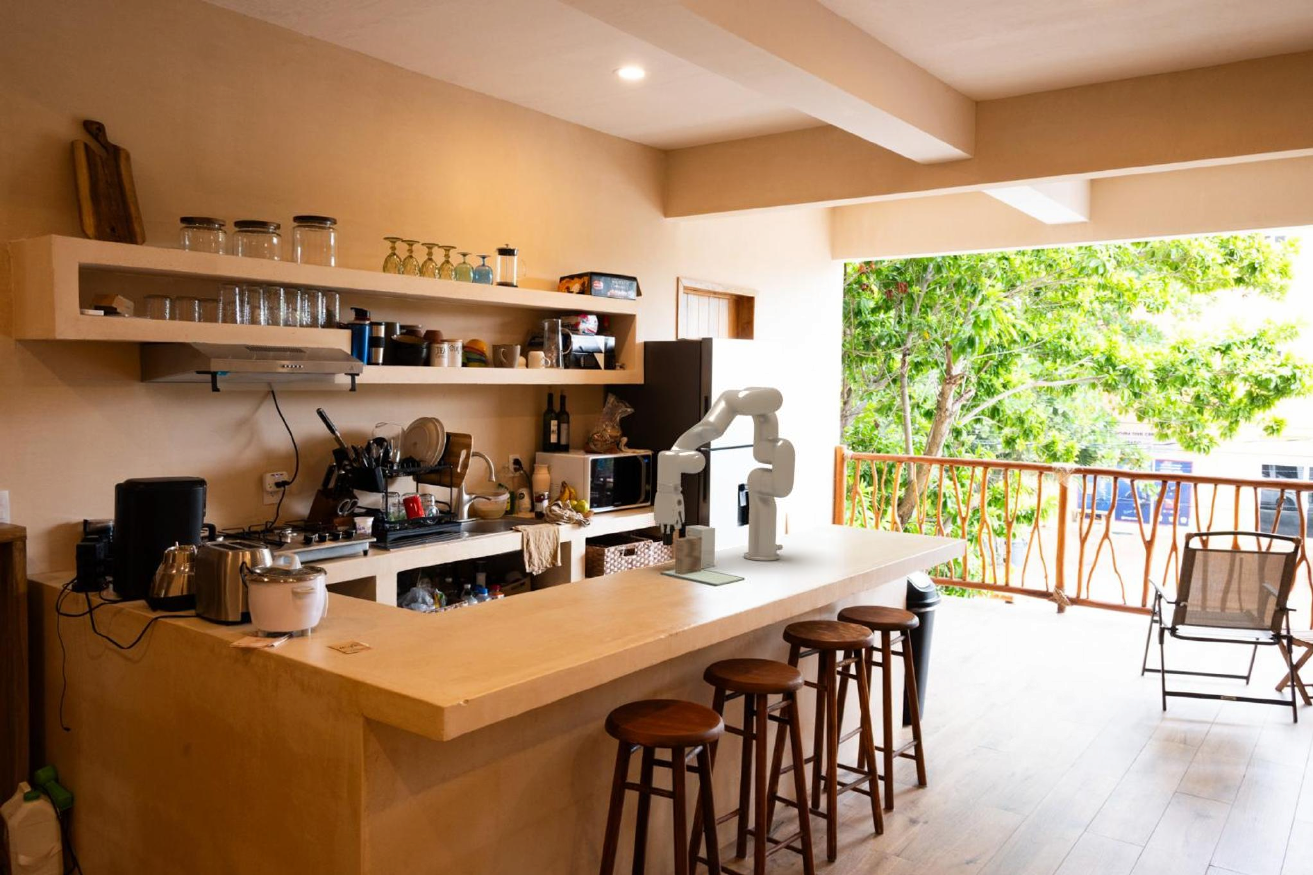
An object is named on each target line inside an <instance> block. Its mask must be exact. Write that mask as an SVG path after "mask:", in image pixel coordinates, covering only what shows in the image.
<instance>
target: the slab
mask: <svg viewBox="0 0 1313 875" xmlns="http://www.w3.org/2000/svg"><path fill="white" fill-rule="evenodd" d="M701 546H702V537H698V536H691V537H686V536H685V537H680V538H675V553H674V554H675V557H674V558H675V559H674V560H675V561H674V562H675V563H674V570H675V573H676V574H681V575H683V574H688V573H693V572H698V571H701V569H702V568H701Z"/></svg>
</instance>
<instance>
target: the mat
mask: <svg viewBox="0 0 1313 875" xmlns="http://www.w3.org/2000/svg"><path fill="white" fill-rule="evenodd" d="M659 573H660V574H659V575H662V576H668V577H671V578H677V579H679V580H685V581H690V582H694V583H699V584H703V585H708V586H712V587H719V586H723V585H727V584H732V583H736V582H741V581H745V577H742V576H738V575H732V574H728V573H723V572H719V571H715V570H714V571H713V570H707V569H705V568H701V571H698V572H693V573H688V574H683V575H681V574H676V573H675V569H671V570H665V571H660V572H659Z"/></svg>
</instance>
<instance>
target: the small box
mask: <svg viewBox="0 0 1313 875" xmlns="http://www.w3.org/2000/svg"><path fill="white" fill-rule="evenodd" d="M691 536H698V537H702V546H701V569H705V568H711V567H712V568H713V567H715V566H716V565H715V560H716V559H715V557H716V555H715V554H716V553H715V552H716V550H715V548H716V528H715V527H712V526H705V525H702V524H701V525H700V524H698V525H687V526H685V537H691Z"/></svg>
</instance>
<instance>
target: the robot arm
mask: <svg viewBox="0 0 1313 875" xmlns="http://www.w3.org/2000/svg"><path fill="white" fill-rule="evenodd" d="M783 402H784V399H783V395H782V393H781V391H780V390H779V389H778V388H775V387H766V386H749V387H745V388H743V389H727V390H725V391H723V392H722V393H720V395H719V396H718V398H717V399H716V401H714V403H713V404H712V405H711V407H710V409H709V410H708V412H707V413H705V416H704V417H703V418H702V419H701V421H700V422H699V421H698V423H697V424H695V425H693V426H692V427H691V428H690V429H687V431H685V432H684V433H683V434H682V435H680V436H679V438H677V440H676V442H674V444H673V446H671V449H670V450H662V451H660V452H659V453H658V454H657V485H656V486H657V487H656V490H657V492H656V493H655V498H654V504H653V505H654V506H653V521H654V522H655V526H657V527H659V528H660V531H661V532H660V533H662V545H663V546H666V547H667V546H668V547H669V546H673V544H674V534H675V533H676V530H680V529H682V524H684V523H685V503H684V496H683V494H682V493H681V491H682V490H683V488H682V487H681V482H682V480H681V479H682V477H681V476H682V475H681V474H682V473H685V474H697V473H700V472H701V471H702V470H703V469H704V468H705V465H706V458H705V456H704V454H703V453H701V452H699V451H697V450H696V449H698V448H699V447H701V446H702V445H704V444H707V443H709V442H713V441H715V440H718V439H719V438H722V436H723V435H724V434H725V433H726V431H727V429H728V428H729V427H730V426H731V424H732V423H733V421H734V420H735V418H737V416H743V417H744V416H745V417H750V416H751V419H752V421H753V446H752V455H753V458H754V460H755V461H756V462H757V463H759V464H763V465H770V466H771V468H769V467H757V468H754V469H752V470H751V471H750V472H749V474H748V475H747V479H746V484H747V485H746V487H747V493H748V502H749V503H748V504H749V505H748V506H749V510H748V512H749V513H748V543H747V544H748V546H747V548H748V549H747V550H748V551H746V552H744V553H743V558H745V559H747V560H750V561H751V560H753V561H761V562H762V561H763V562H765V561H766V562H768V561H769V562H770V561H777V560H779V559H780V558H781V557H780V556H781V555H780V554H779V553H777V552H778V551H781V550H783V548H784V546H783V545H782V544H777V542H776V541H777V540H776V539H777V516H778V515H777V511H778V507H777V502H776V499H775V498H778V499H783V498H786V497H788V496H790V494H791V493H792V491H793V489H794V488H793V487H794V485H795V484H794V483H795V470H796V450H795V447H794V445H793V443H792V442H791V441H790V440H788V439H786V438H784V437H783V438H782V437H779V420H778V416H777V414H776V412H777V411H779V410H780V409H781V407H782V405H783Z"/></svg>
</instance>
